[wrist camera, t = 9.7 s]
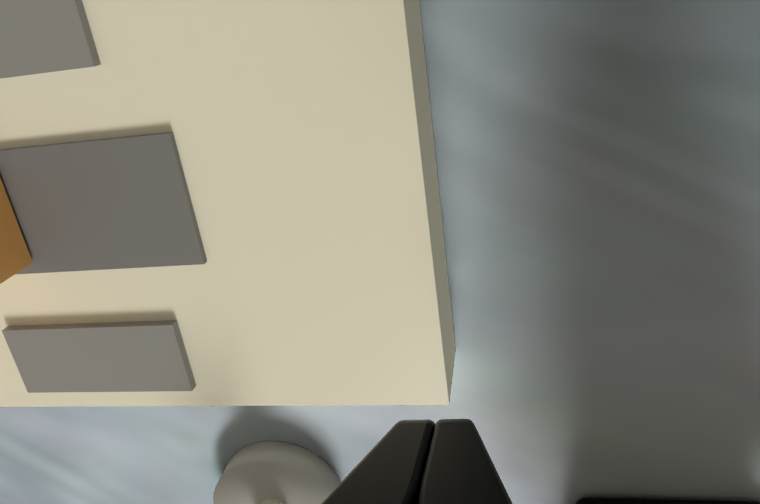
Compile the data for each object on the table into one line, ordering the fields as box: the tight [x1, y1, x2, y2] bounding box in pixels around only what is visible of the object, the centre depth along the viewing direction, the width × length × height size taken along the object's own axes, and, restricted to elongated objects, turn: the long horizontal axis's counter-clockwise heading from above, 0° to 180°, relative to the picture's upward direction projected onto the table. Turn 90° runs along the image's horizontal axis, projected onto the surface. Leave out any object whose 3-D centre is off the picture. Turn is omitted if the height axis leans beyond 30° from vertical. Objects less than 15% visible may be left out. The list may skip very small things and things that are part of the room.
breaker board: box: [0, 0, 456, 407], centre depth 20 cm, size 22×14×3 cm, turn 99°
